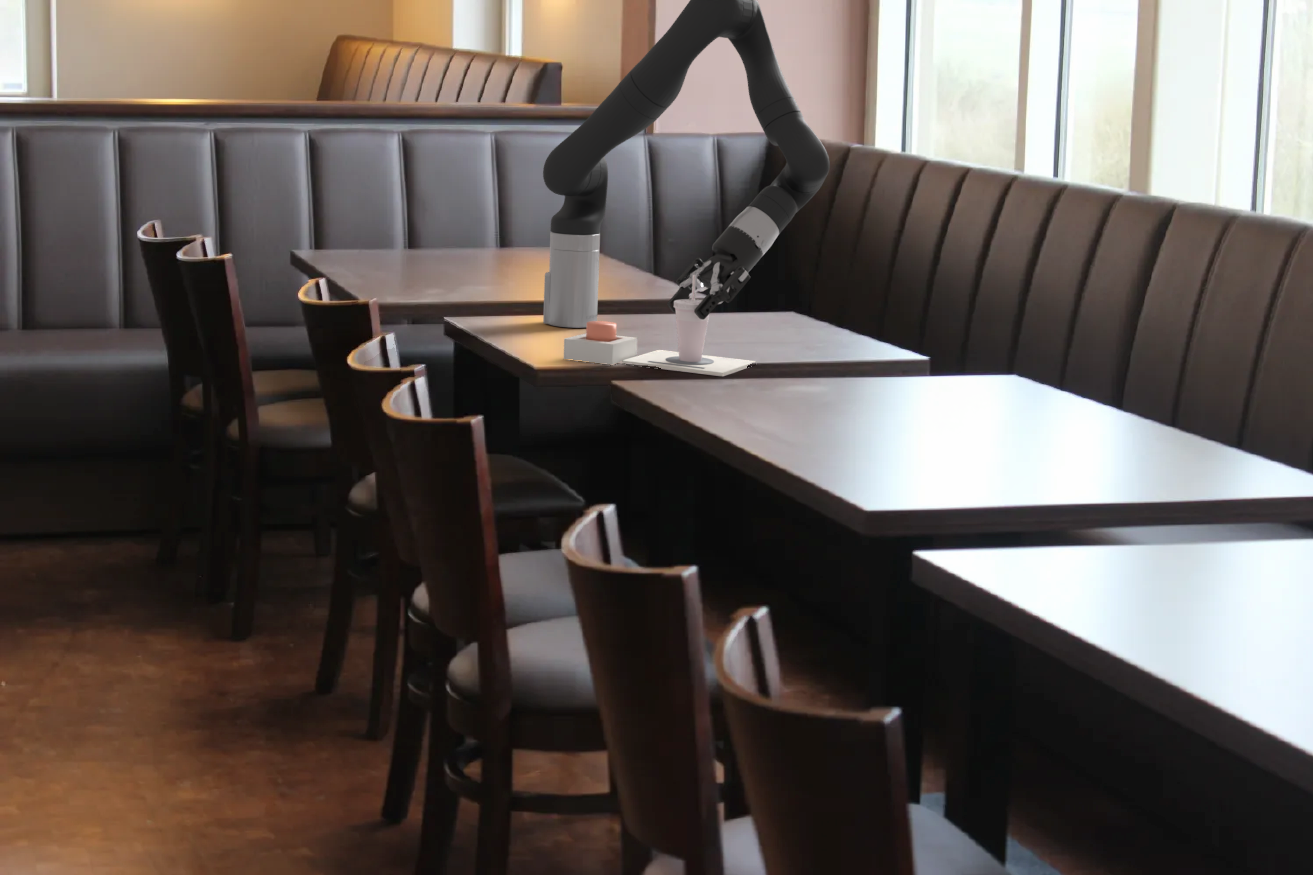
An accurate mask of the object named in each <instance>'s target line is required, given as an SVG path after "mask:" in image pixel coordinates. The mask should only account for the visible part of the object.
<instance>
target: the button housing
mask: <svg viewBox="0 0 1313 875" xmlns="http://www.w3.org/2000/svg"><path fill="white" fill-rule="evenodd" d="M636 356H638V337H633V336H626V335H625V336H624V335H617V334H616V340H614V341H611V342H604V341H595V340H587V339H586V332H585V333H581V334H577V335H573V336H570V337H566V338H565V337H564V338H563V360H564V359H573V360H582V361H589V362H595V363H607V364H614V363H618V362H620V361H622V360H625V359H629V358H632V357H636Z"/></svg>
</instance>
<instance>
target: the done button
mask: <svg viewBox="0 0 1313 875" xmlns="http://www.w3.org/2000/svg"><path fill="white" fill-rule="evenodd" d="M617 324H618V323H617V322H613V321H606V320H597V321H590V322H587V326H586V327H585V328H586V329H585V330H586V331H585V333H586V339H587V340H595V341H604V342H611V341H614V340H616V335H617V326H618V325H617Z"/></svg>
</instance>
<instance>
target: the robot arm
mask: <svg viewBox="0 0 1313 875" xmlns="http://www.w3.org/2000/svg"><path fill="white" fill-rule="evenodd" d="M718 38H724V39H728V40H729V41H730V43H731V44H732V46H733V47H734V49H735V51H736V52H737V54H738V56H739V57H740V58H741V61H742V63H743V66H744V71H745V74H746V80H747V81H746V82H747V89H748V96H749V100H750V103H751V107H752V109H753V112H754V114H755V117H756V119H757V120H758V123H759V124H760V126H761V129H762V131H763V133H764V135H765V138H767V139H768V142H769V143H770V144H771V145H773V146H775V147H778V148H779V150H780V151H781V153H782V155H783V156H784V158H785V161H786V163H785V165H784V167H783V168H782V170H781V171H780V172H779V174H778V175H777V176H776V178H775V179H774V180H773V181H772V182H771V184H770V185H766V186H765V187H764V188H763V189H761V190H760V192H759V193H758V194H757V195H756V196H755V197H754V199H753V200H752V201H751V202H750V203H749V204H748V206H746V208H745V209H743V211H742V212H740V213H739V214H738V215H737V216H736V217H735V218H734V219H733V220H732V222H730V224H729V225H728V226H727V228H726V229H725V230H724V231H723V232H722V233H721V234H720V236H718V238H717V239H716V240H715V242H713V243H712V247H711V250H712V256H711V257H710V258H708V259H707V260H706V261H703V260H702V259H701V258H700V257H699V256H697V257H696V258H694V259H693V261H692V262H691V263H690V264H689V265H688V266H687V267H686V268H685V270H684V271H683V272H682V273H681V274H680V275H679V277H678V278H677V279H676V280H675V283H676V284H677V286H678V287H679V288H678V290H677V291H676V292H675V293H674V294H673V295H672V297H671V298H670V299H669V301H667V307H668V308H669V309H670V311H671V312H673V313H676V311H675V308H674V307H673V306H674V301H675V300H681V299H691V297H692V281H693V275H696V289H695V294H696V293H698V292H702V293H703V292H704V291H706V290H708V289H710V290H709V294H706V296H705V297H704V298H703V299H701V300H702V301H701V303H700V304H699V305H698V306H697V307H696V308H695V310H694V312H695V314H696V315H697V316H698V317H699V319H703V320H704V319H705V318H706V317H707V316H708V315H709V316H710V314H711V313H712V311H713V310H714V309H715V308H716V306H717V305H721V304H722V303H723V302H726V304H729V303H732V301H733V300H734V299H735V297H736V296H737V295H738V294H739V293H740V291H741V290H742V289H743V288H744V287H745V286H746V284H747V283H748V282H749V280H750V279H751V276H750V274H749V272H750V271H751V270H752V269H753V268H754V266H756V265H757V263H758V262H760V260H761V258H763V256H764V255H765V254H766V253H767V252H768V250H769V249H771V247H772V246H773V244H774V242H775V241H776V239H777V238H778V236H779V235H780V234H781V233H782V232H783V230H784V229H786V227H787V226H788V224H789V223H790V222H791V221H792V220H793V218H794V217H795V215H796V213H798V212H799V211H800V210H801V209H803V207H804V206H805V205H807V203H808V202H809V201H810V200H811V199H812V198H813V197H814V196H816V194H817V192H819V190H820V189H821V188H822V186H823V184H824V182H825V180H826V178H827V176H828V175H829V172H830V168H831V164H830V163H831V162H830V157H829V154H828V152H827V149H826V147H825V146H824V144H823V142H822V141H821V140H820V138H819V137H818V136H817V134H816V133H815V132H814V130H813V129H812V128H811V127H810V126H809V124H808V123H807V121H806V120H805V118H804V116H803V114H802V111H801V110H800V107H799V105H798V104H797V101H796V100H795V97H794V95H793V93H792V91H791V89H790V87H789V85H788V83H787V81H786V78H785V76H784V74H783V72H782V69H781V67H780V64H779V61H778V58H777V56H776V53H775V50H774V48H773V44H772V41H771V38H770V35H769V32H768V29H767V26H766V22H765V18H764V16H763V12H762V9H761V6H760V3H759V1H758V0H689V1H688V3H687V4H686V5H685V7H684V8H683V9H682V11H681V12H680V13H679V15H678V16H677V17H676V19H675V21H673V23H672V24H671V26H670V27H669V28H668V30H667V31H666V32H665V33H664V34H663V36H661V38H660V39H658V40H657V42H656V43H655V44H654V45H653V46H652V47H651V48H650V49H649V50H648V52H647V53H646V54H645V55H644V56H643V57H642V58H641V60H639V61H638V63H636V65H634V67H632V69H631V70H630V71H629V72H628V73H627V74H626V75H625V76H624V77H623V78H622V79H621V81H620V82H619V83H618V84H617V86H616V87H614V89H613V90H611V92H610V93H609V94H608V95H607V97H605V99H604V100H603V101H602V102H601V103H600V104H599V106H597V107H596V108H595V110H594V111H593V112H592V114H590V115H589V117H588V118H586V119H585V121H584V122H583V123H582V124H581V125H580V126H578V128H576V129H575V130H574V131H573V132H572V133H571V134H569V135H568V136H567V137H566V138H564V139H563V141H561V142H560V143H559V144H558V145H556V146H555V148H553V149H552V150H551V151H550V153H549V154H548V156H547V157H546V159H545V162H544V163H543V164H544V165H543V171H542V177H543V182H544V185H545V186H546V188H547V189H548V190H549V191H551V193H554V195H555V194H556V195H560V196H564V201H563V203H562V206H561V208H560V209H559V210H558V212H556V213H554V215H552V217H551V220H550V235H549V236H550V237H549V238H550V239H549V269H548V270H549V271H547V272H545V274H544V282H543V283H544V287H543V288H544V289H543V290H544V291H543V321H542V322H543V324H545V325H546V324H547V325H550V326H554V327H561V328H577V329H578V328H586V326H587V322H590V321H598V305H599V304H598V303H599V302H598V301H599V300H598V299H599V278H600V272H599V271H600V247H601V246H600V245H601V226H602V223H603V221H604V218H605V215H606V208H607V198H608V197H607V196H608V184H609V168H608V162H607V160H606V155H607V154H609V153H610V152H611V151H612V150H614V149H615V148H616V147H618V146H619V145H621V144H623V143H624V142H627V141H628V140H630V139H632V138H634V137H635V136H636V135H639V134H640V133H641V132H643V131H644V130H645V129H647V128H648V127H650V126H651V125H652V124H653V123H655V122H656V121H657V120H658V119H660V117H661V116H662V115H663V113H664V112H665V111H666V110H667V109H669V107H671V105H672V104H673V103H674V102H675V101H676V99H677V97H678V96H679V94H680V93H681V90H682V88H683V85H684V83H685V79H686V76H687V74H688V71H689V69H690V66H691V65H692V63H693V62H694V60H695V59H697V57H698V56H699V55H700V54H701V53H702V52H703V51H704V50H705V49H706V48H707V47H708V46H710V45H711V43H712V42H714V41H715V40H716V39H718ZM730 289H732V290H731V291H730Z"/></svg>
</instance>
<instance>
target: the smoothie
mask: <svg viewBox="0 0 1313 875" xmlns="http://www.w3.org/2000/svg"><path fill="white" fill-rule="evenodd" d="M691 289H692V296H691V298H689V299H681V300H675V301H674V306H673V307H674V308H675V311H676V312H675V321H676V336H677V347H678V349H677V350H678V351H677V352H679V360H681V361H687V362H699V361H701V360H702V355H704V354H703V353H704V352H703V351H704V347H705V341H706V336H707V331H708V330H707V329H708V324H709V319H710V314H709V315H708V316H707V317H706V318H705V319H704V320H703V319H699V317H698V316H697V315H696V314H695V312H694V310H695V308H696V307H697V306H698V305H699V304H700V303H701V301H702V300H703V299H696V293H695V289H696V275H693V281H692V287H691Z"/></svg>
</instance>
